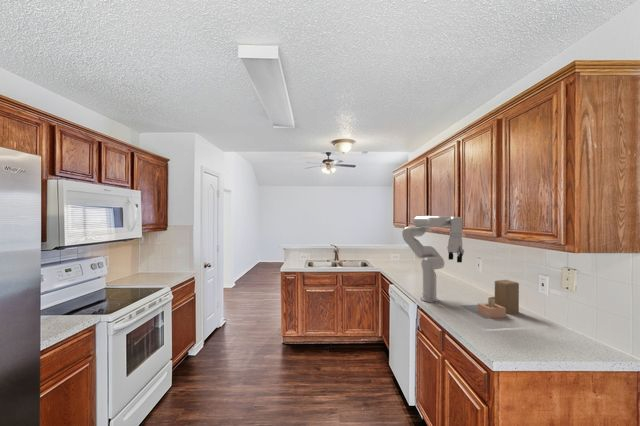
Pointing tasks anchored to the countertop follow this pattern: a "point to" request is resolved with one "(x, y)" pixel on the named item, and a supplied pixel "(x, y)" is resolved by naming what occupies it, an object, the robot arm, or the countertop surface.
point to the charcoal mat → (475, 310)
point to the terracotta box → (491, 310)
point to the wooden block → (507, 295)
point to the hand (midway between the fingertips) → (455, 260)
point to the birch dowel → (491, 301)
